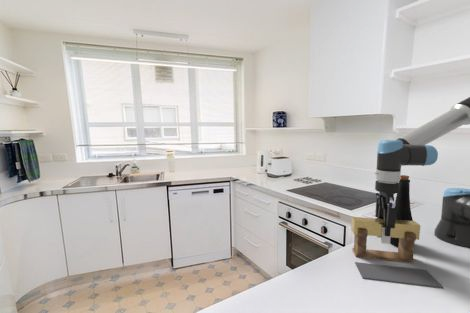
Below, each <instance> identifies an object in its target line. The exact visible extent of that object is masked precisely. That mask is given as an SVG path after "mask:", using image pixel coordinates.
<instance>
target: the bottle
mask: <svg viewBox="0 0 470 313" xmlns="http://www.w3.org/2000/svg"><path fill="white" fill-rule="evenodd" d="M410 182H411V180H410V176H409V175H407V174H405V175H404V174H401V175H400V181H399V182H398V183H399V184H400V185H399V192H398V193H396V197H395V199H394V203H398V207H397V210H396V220H406V221H414V220H413V216H412V210H411V200H410V186H411V185H410ZM389 245H391V246H394V247H396V248H398V246H399V238H393V237H391V238H390V244H389Z"/></svg>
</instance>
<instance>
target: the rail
mask: <svg viewBox="0 0 470 313" xmlns="http://www.w3.org/2000/svg"><path fill="white" fill-rule="evenodd" d="M350 225H351V226H350V227H351V229H350V231H351V232H352V234H353V235H355V234H358V235H359V229H365V230H368V235H367V236H371V237H376V236H381V237H382V225H384V219H377V217H362V216H361V217H359V216H351V224H350ZM420 232H421V225H420V224H419V223H418V222H416V221H415V220H413V221H406V220H396V221H395V228H391V237H393V238H405V239H406V233H415V234H416V241H418V240H420V235H421V234H420Z"/></svg>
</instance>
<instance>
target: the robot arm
mask: <svg viewBox="0 0 470 313" xmlns="http://www.w3.org/2000/svg"><path fill="white" fill-rule="evenodd" d="M467 125H470V96H469V97H467V98H464V99H463V100H461V101H460V102H457V103H455V104H454V105H453V106H451V108H450V110H448V111H447V112H445V113H443V114H441V115H439V116H437V117H435V118H434V119H432V120H429V121H428V122H426V123H424V124H423V125H421V126H419V127H417V128H416V129H413V130H411V131H410V132H408V133H406V134H405V135H402V136H400V137H399V138H397V139H395V140H394V139H382V140H380V141H379V142H378V144H377V145H378V146H377V151H376V153H377V154H376V155H377V156H376V172H374V174H375V186H374V190H376V191H377V192H376V193H375V197H376V198H375V215H374V216H375V217H374V218H377V219H384V225H382V237H381V236H375V237H376V238H379V239H380V238H381V241H380V242H381V244H385V245H391V244H390V238H391V228H395V221H396V210H397V207H398V203H395V194H397V193H398V192H399V185H400V184H399V181H400V179H401V178H400V175H402V173H401V172H402V170H401V169H402V166H422V167H424V166H431V165H433V164H436V162H437V161H438V156H439V152H438V150H437V149H436V148H437V147H436V148H435V147H434V146H433V145H430V143H432V142H433V141H436V140H438V139H439V138H441V137H443V136H444V135H446V134H449V133H450V132H452V131H454V130H456V129H458V128H460V127H462V126H467ZM428 144H429V145H428ZM441 202H442V203H441V213H440V214H441V216H440V220H439V222H438V223H437V225H436V227H435V229H434V236H435V237H436V238H437V239H439V240H441V241H443V242H445V243H448V244H451V245H455V246H460V247H464V248H470V188H464V187H463V188H460V187H450V188H446V189H445V190H444V192H443V195H442V201H441Z"/></svg>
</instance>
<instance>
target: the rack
mask: <svg viewBox="0 0 470 313" xmlns="http://www.w3.org/2000/svg"><path fill="white" fill-rule="evenodd" d="M368 236H369V235H368V230H365V229H359V235H358V234H354V241H353V247H352V248H351V250H352V253H353V254H354V256H355V257H356V258H362V259H363V258H364V259H374V260H382V261H392V262H401V263H410V264H412V263H413V264H415V262H416V261H415V259H414V253H415V242H416V241H417V239H416V234H415V233H406V239H405V238H399V246H398V247H397V248H398V249H397V251H389V250H375V249H367V241H368V240H367V239H368Z"/></svg>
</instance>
